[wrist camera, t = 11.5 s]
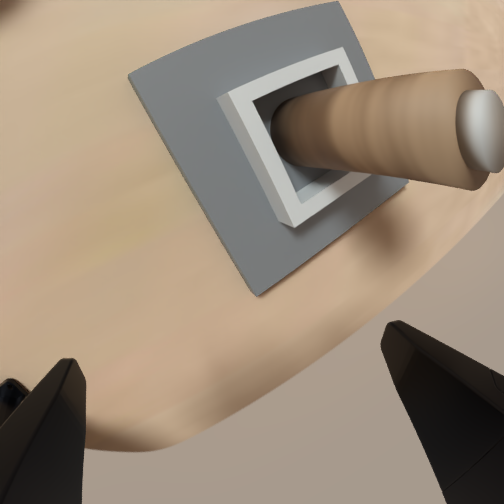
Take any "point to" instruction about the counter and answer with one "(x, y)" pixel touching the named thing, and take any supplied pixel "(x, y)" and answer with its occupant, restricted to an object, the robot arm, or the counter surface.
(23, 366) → the counter surface
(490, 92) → the mill
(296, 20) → the grey square frame plate
